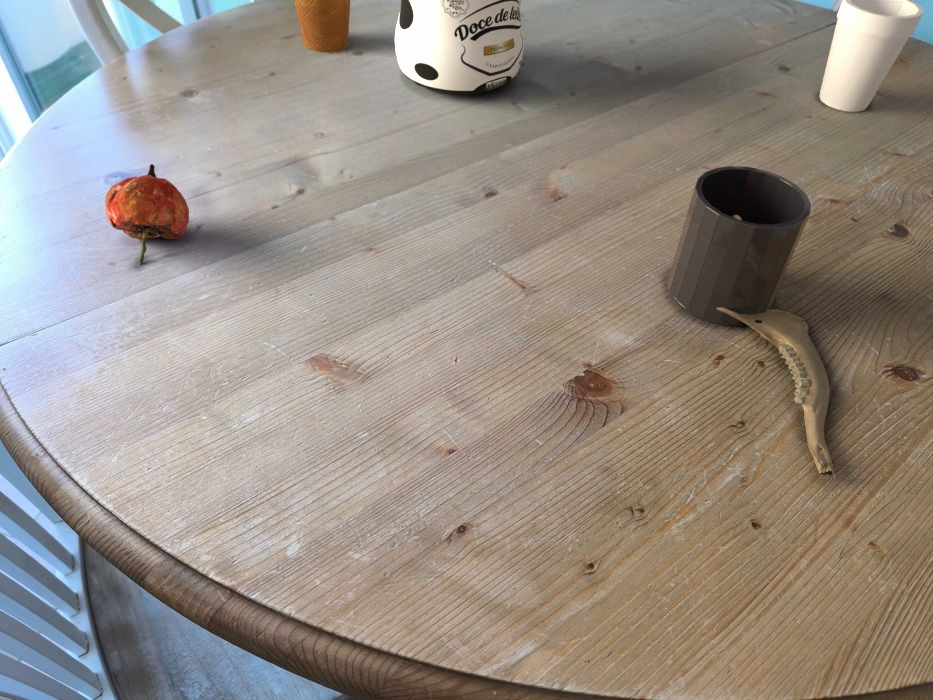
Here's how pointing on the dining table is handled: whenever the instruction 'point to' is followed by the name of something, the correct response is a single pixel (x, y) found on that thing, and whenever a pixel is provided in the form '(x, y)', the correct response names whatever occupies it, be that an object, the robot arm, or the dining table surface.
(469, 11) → the doce de leite jar
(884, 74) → the foam cup
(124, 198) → the orange pumpkin
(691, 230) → the tumbler
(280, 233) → the dining table surface
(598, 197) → the dining table surface
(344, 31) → the disposable coffee cup
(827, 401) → the jawbone
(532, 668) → the dining table surface
